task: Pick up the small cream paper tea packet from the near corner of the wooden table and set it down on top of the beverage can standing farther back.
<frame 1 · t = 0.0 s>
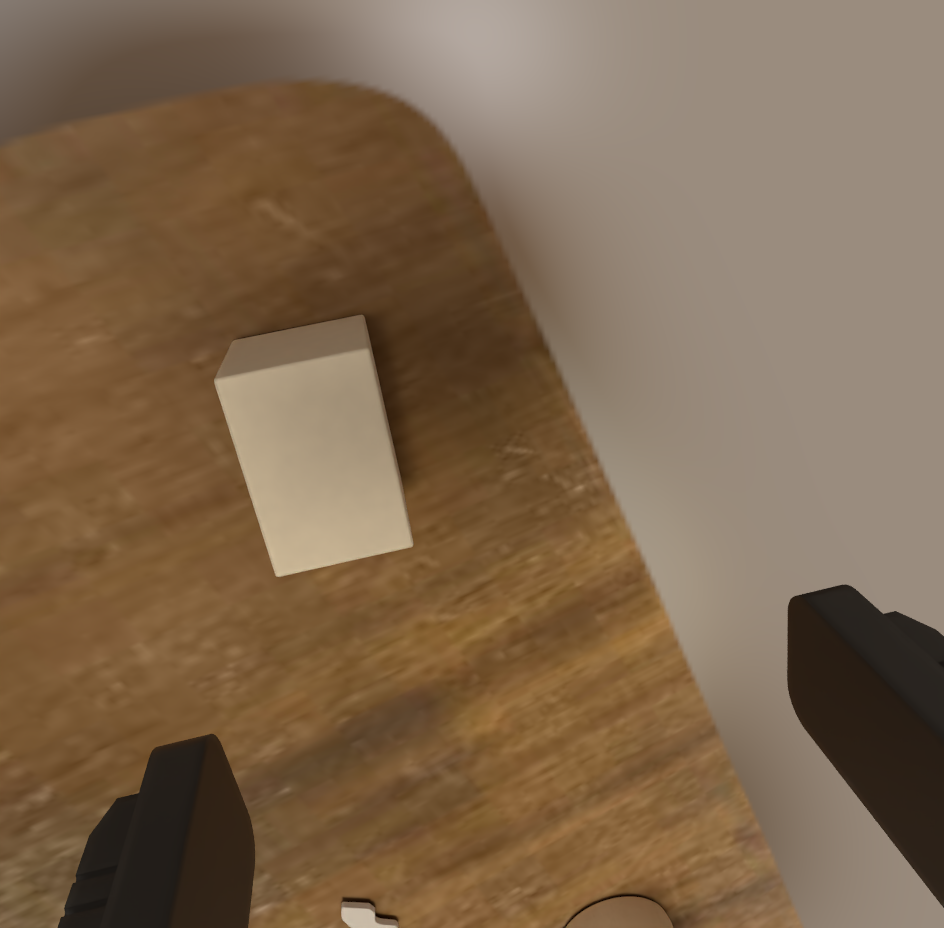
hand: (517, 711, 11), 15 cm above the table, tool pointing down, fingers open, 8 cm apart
tea packet: (322, 418, 25), on the table
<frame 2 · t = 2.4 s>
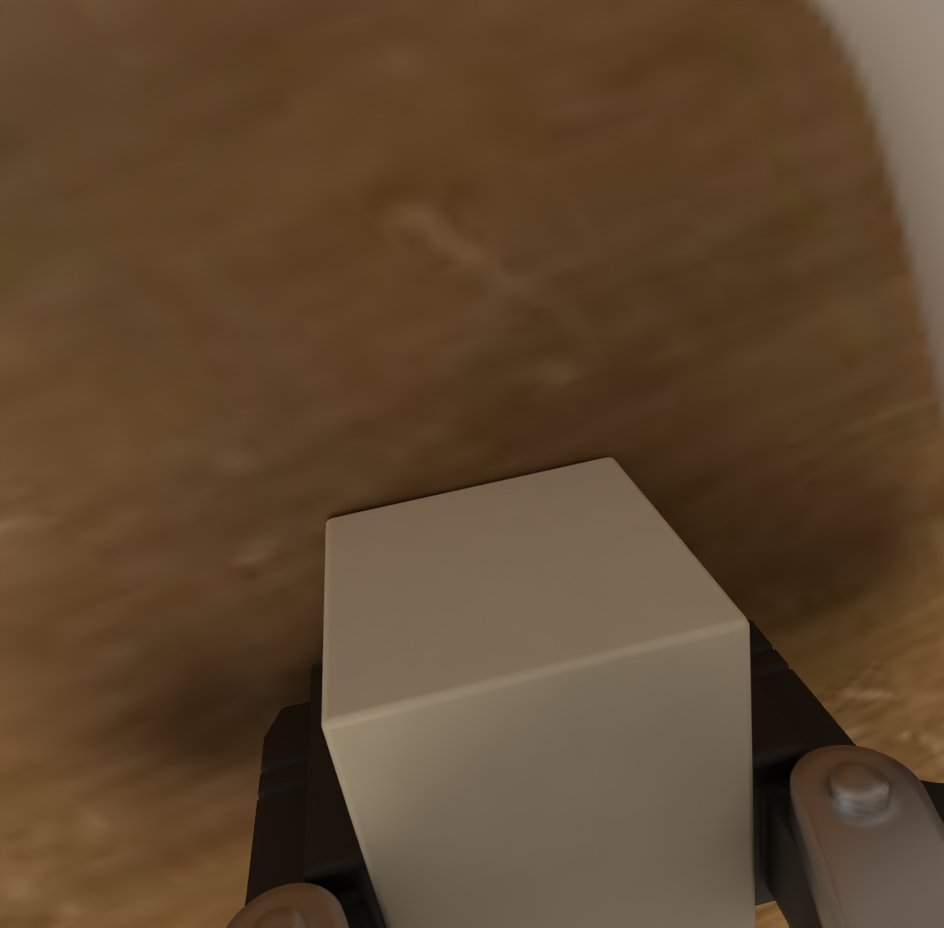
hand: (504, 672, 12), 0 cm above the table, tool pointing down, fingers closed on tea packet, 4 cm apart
tea packet: (503, 660, 12), on the table, touching gripper
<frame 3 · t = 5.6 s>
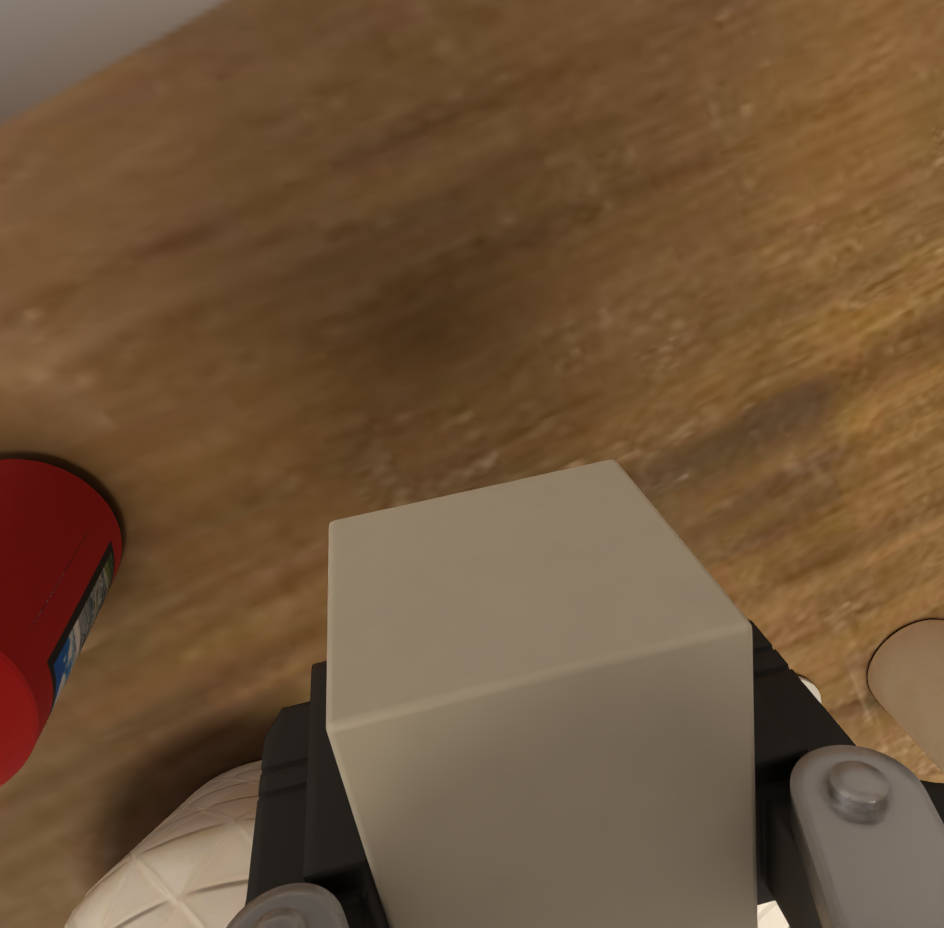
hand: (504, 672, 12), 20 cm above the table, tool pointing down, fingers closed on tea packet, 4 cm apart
beverage can: (36, 527, 30), on the table
vase: (286, 837, 39), on the table
tea packet: (505, 662, 12), point 19 cm above the table, touching gripper
candle: (913, 660, 41), on the table
mooncake: (779, 874, 46), on the table
when the fingers open (12 cm above the table, at t = 8.7 s): tea packet stays where it is, resting on beverage can.
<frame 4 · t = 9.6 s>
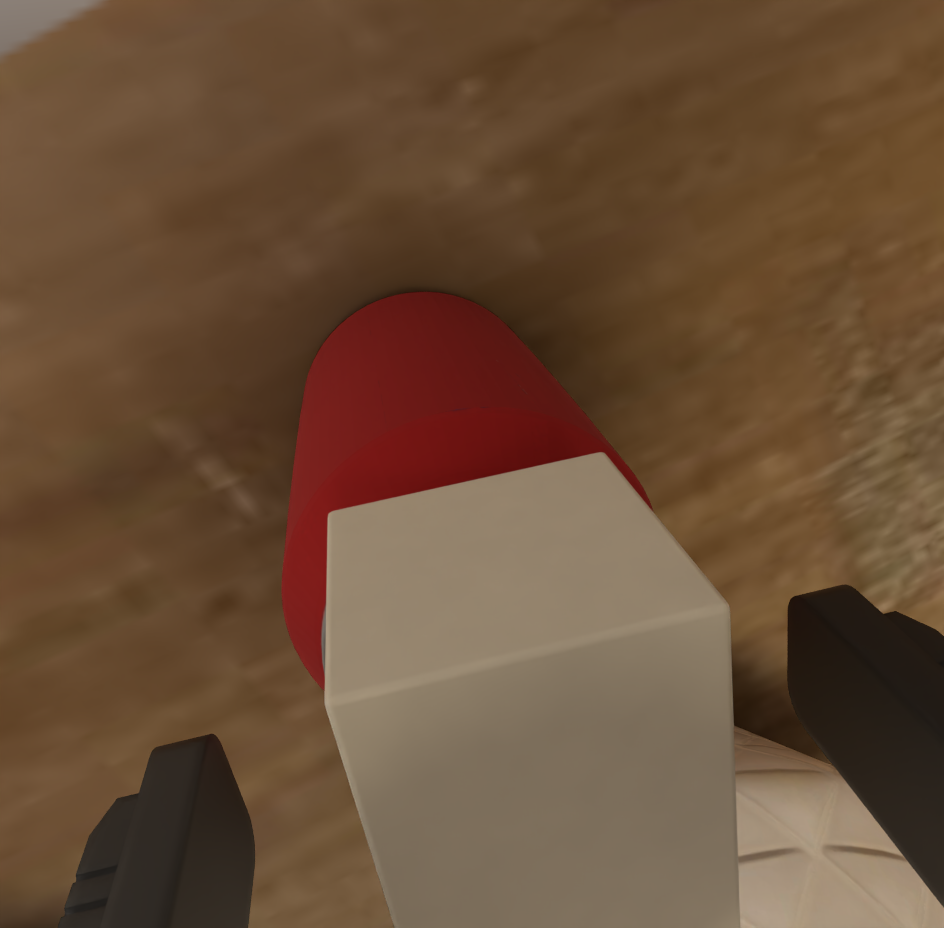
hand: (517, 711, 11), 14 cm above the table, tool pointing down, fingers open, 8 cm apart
beverage can: (419, 398, 23), on the table, touching tea packet
vase: (631, 813, 32), on the table
tea packet: (499, 649, 12), point 12 cm above the table, touching beverage can
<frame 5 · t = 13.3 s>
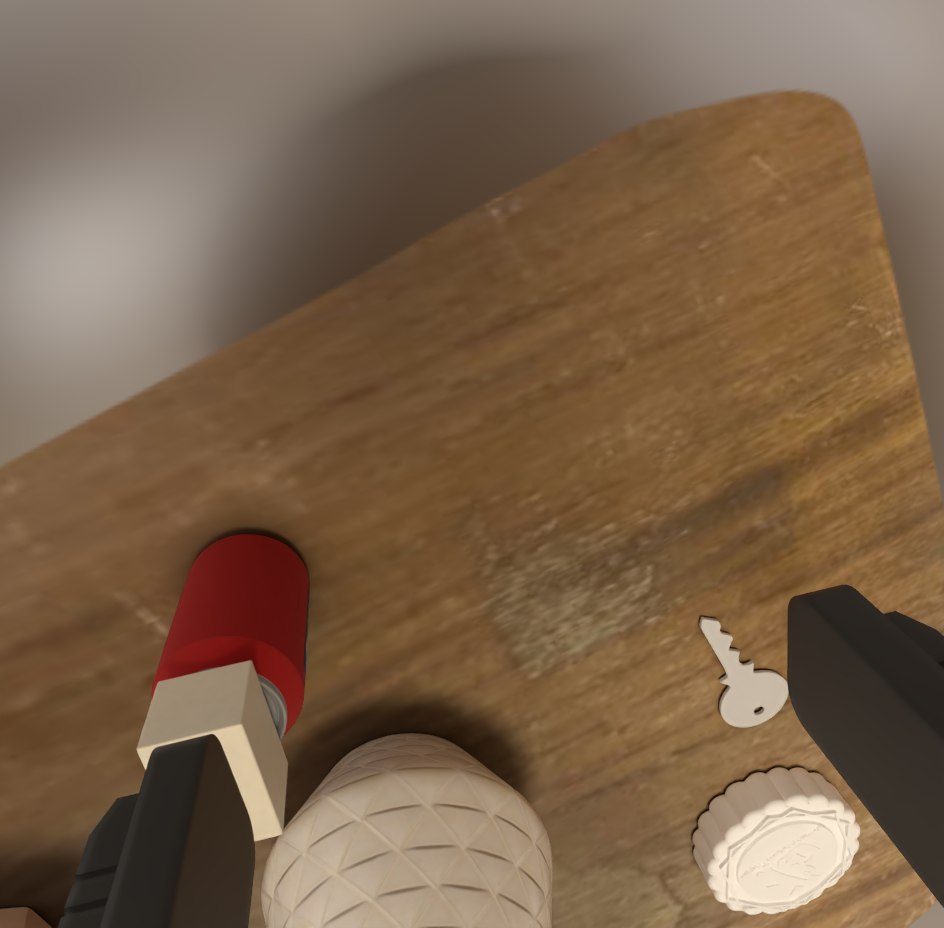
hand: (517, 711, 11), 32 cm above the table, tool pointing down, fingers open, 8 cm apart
beverage can: (251, 576, 46), on the table, touching tea packet
key: (734, 666, 54), on the table
vase: (401, 793, 54), on the table
tea packet: (225, 723, 34), point 12 cm above the table, touching beverage can
mooncake: (763, 822, 61), on the table
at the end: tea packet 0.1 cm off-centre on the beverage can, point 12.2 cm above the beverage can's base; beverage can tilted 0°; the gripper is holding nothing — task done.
